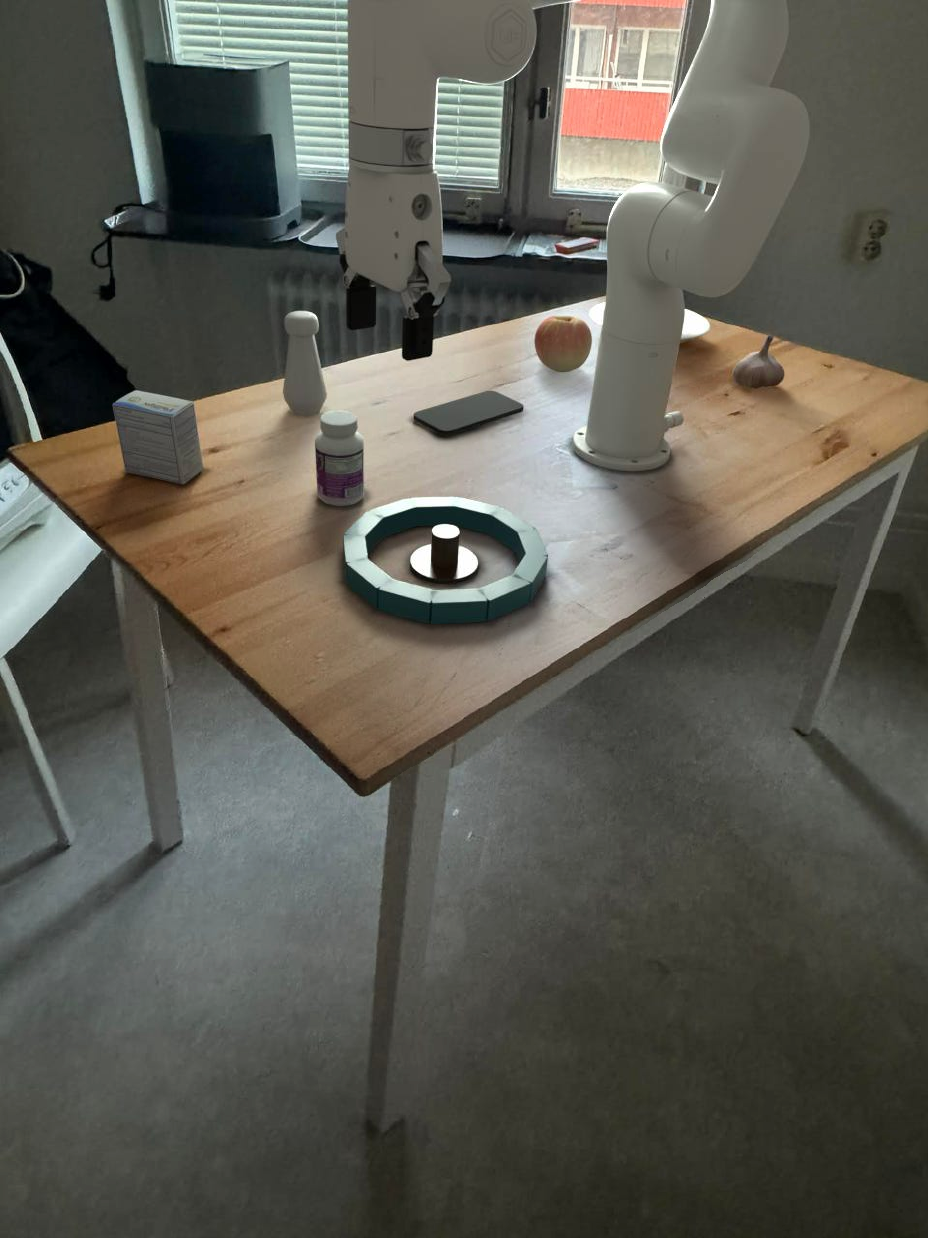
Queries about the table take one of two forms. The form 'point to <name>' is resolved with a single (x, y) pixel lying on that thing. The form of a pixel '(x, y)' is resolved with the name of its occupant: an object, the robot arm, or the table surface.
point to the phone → (468, 412)
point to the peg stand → (444, 558)
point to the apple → (563, 343)
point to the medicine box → (158, 436)
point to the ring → (444, 602)
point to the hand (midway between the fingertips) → (388, 342)
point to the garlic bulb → (759, 369)
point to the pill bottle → (339, 459)
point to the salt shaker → (303, 366)
